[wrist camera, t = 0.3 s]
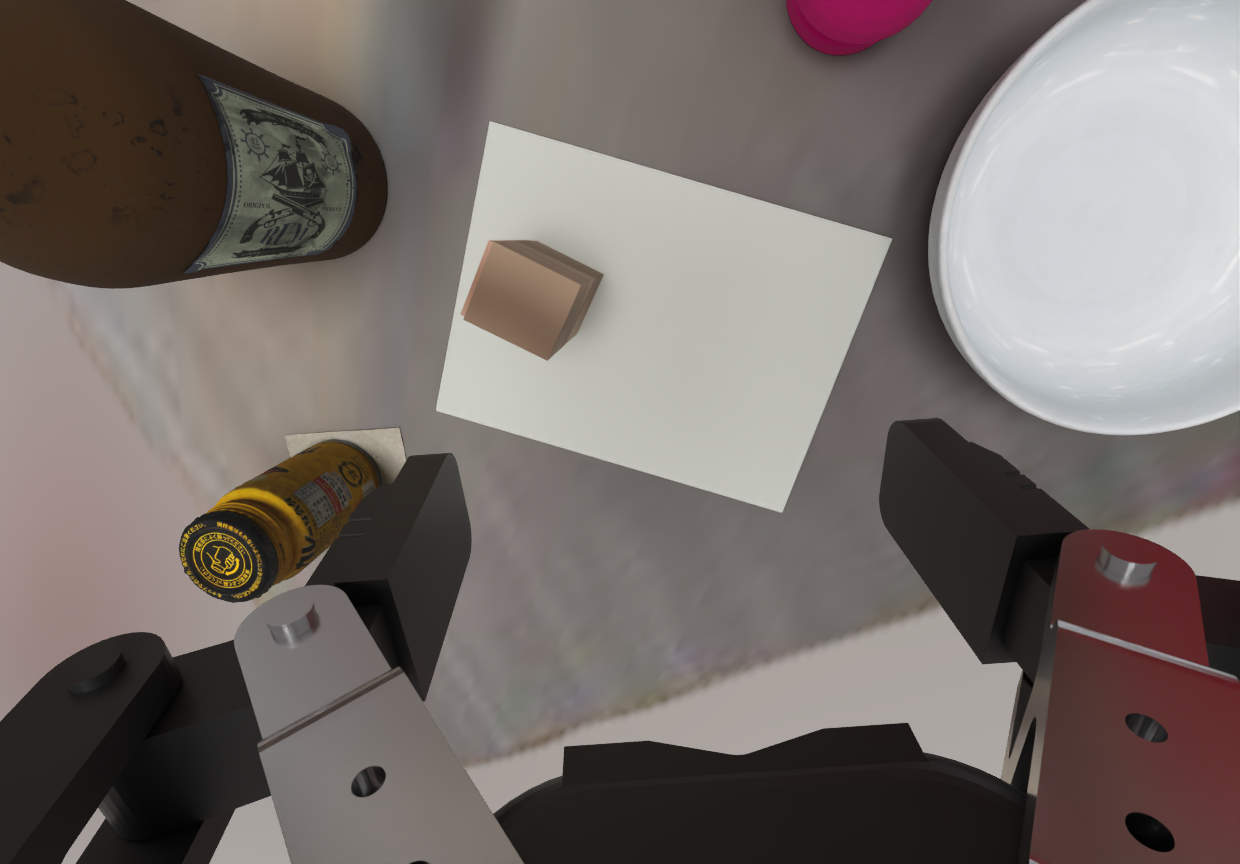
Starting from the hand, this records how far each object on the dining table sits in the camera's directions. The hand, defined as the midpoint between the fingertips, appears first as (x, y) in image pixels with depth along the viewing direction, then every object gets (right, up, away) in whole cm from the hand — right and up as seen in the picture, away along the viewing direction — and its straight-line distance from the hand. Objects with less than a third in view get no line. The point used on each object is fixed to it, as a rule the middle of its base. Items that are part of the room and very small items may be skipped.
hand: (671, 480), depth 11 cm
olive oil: (-20, +16, +26) cm, 37 cm away
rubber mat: (+1, +7, +27) cm, 28 cm away
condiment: (-20, -2, +32) cm, 38 cm away
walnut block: (-5, +10, +26) cm, 28 cm away
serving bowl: (+25, +13, +23) cm, 36 cm away
